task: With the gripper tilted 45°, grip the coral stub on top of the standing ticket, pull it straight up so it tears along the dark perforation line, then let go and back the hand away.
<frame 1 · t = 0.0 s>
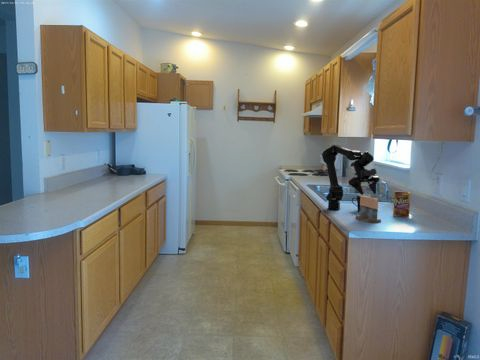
hand: (368, 194, 221), 15 cm above the worktop, tool tilted 35°, fingers open, 9 cm apart
candy box: (401, 216, 233), on the worktop
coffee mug: (360, 211, 248), on the worktop
ticket stand: (367, 220, 221), on the worktop
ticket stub: (368, 202, 220), point 11 cm above the worktop, slide at 0.0 cm
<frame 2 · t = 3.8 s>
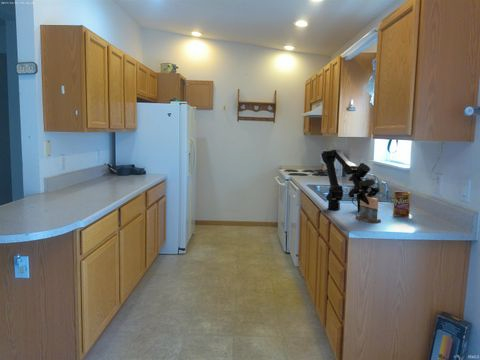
hand: (370, 204, 219), 10 cm above the worktop, tool tilted 45°, fingers closed on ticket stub, 2 cm apart
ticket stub: (368, 202, 220), point 11 cm above the worktop, slide at 0.0 cm, touching gripper
everything else where it was.
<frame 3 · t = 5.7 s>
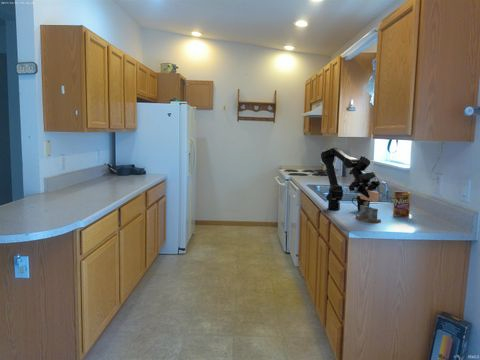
hand: (370, 197, 218), 13 cm above the worktop, tool tilted 45°, fingers closed on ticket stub, 2 cm apart
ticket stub: (369, 195, 220), point 14 cm above the worktop, slide at 3.8 cm, touching gripper
everything else where it was.
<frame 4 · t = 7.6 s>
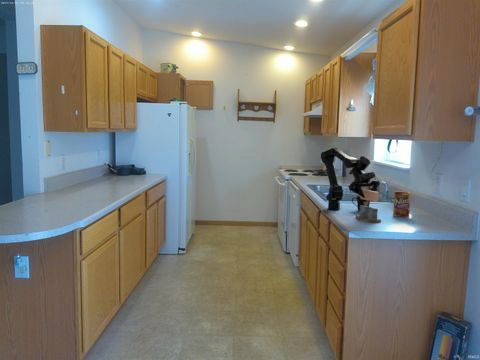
hand: (370, 197, 218), 14 cm above the worktop, tool tilted 45°, fingers open, 9 cm apart
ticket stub: (369, 195, 220), point 14 cm above the worktop, slide at 3.8 cm
everything else where it was.
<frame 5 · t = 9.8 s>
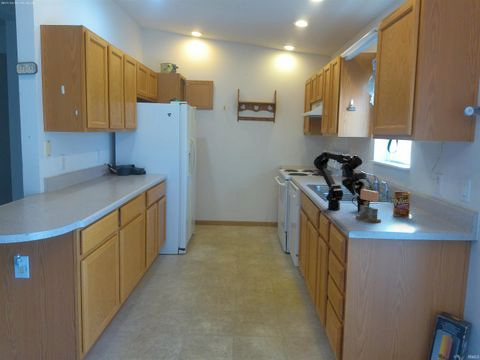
hand: (358, 196, 229), 12 cm above the worktop, tool tilted 35°, fingers open, 9 cm apart
nothing on the worktop moved.
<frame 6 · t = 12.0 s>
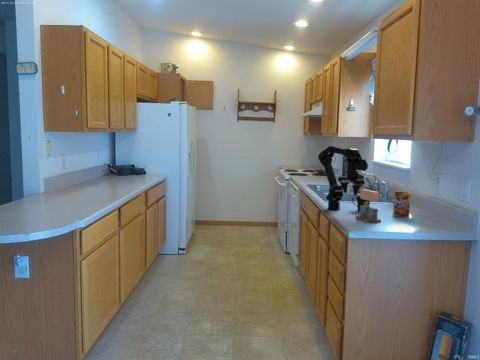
hand: (350, 194, 237), 12 cm above the worktop, tool pointing down, fingers open, 9 cm apart
nothing on the worktop moved.
at the end: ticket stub slide at 3.8 cm; the gripper is holding nothing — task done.
